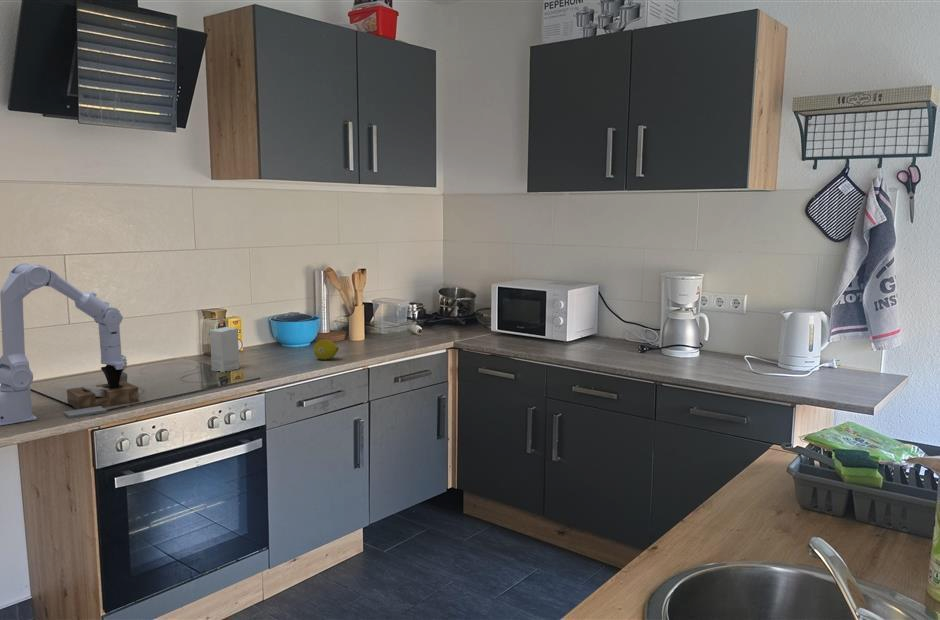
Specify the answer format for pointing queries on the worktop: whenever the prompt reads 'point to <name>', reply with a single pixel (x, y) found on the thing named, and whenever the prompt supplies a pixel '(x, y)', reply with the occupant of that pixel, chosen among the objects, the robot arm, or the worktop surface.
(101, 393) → the aluminium tile
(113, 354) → the robot arm
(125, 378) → the light bulb
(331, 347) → the lemon
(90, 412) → the slate mat
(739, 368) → the worktop surface
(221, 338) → the skincare box
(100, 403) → the pocket board
